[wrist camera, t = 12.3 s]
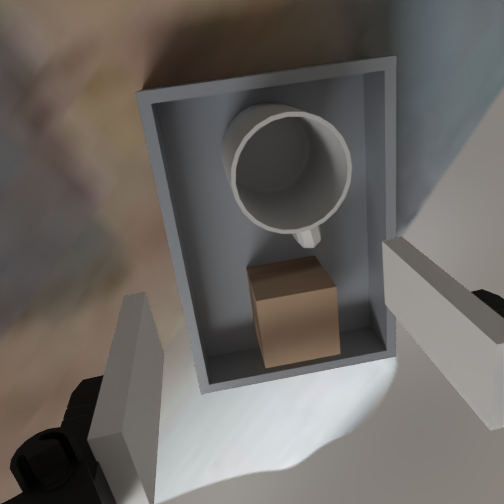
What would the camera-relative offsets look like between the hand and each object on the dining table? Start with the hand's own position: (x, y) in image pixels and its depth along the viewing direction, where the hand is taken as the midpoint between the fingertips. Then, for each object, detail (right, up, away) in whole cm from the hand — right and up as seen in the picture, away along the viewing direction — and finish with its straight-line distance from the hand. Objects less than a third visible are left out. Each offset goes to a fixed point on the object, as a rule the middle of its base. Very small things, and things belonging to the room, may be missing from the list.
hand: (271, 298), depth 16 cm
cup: (+1, +8, +18) cm, 20 cm away
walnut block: (+2, -2, +23) cm, 23 cm away
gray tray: (+1, +4, +21) cm, 21 cm away
